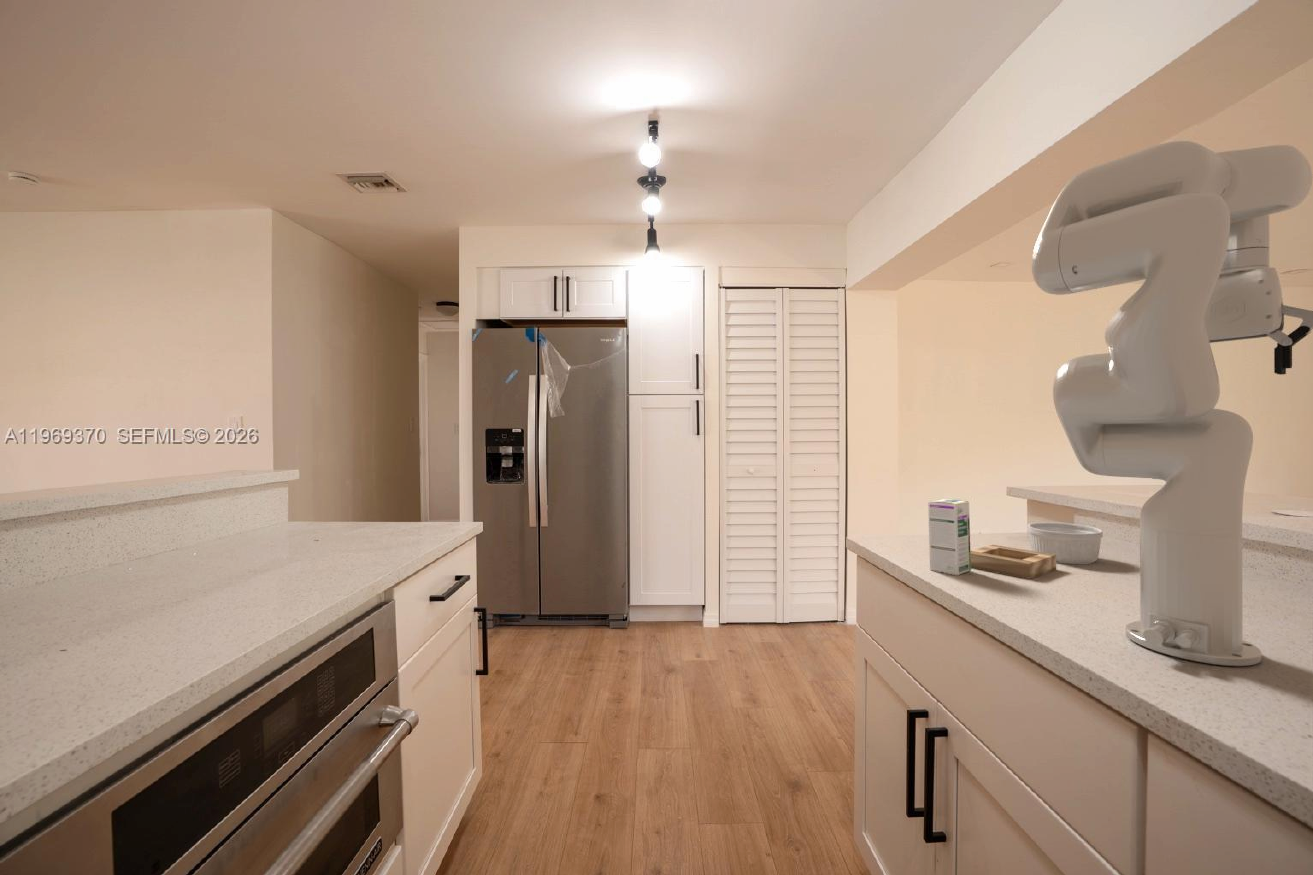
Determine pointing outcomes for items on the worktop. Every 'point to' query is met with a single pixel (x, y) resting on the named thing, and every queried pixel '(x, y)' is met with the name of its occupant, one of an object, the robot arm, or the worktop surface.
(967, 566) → the syrup box
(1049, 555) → the holder block
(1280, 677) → the worktop surface
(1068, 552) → the ramekin
